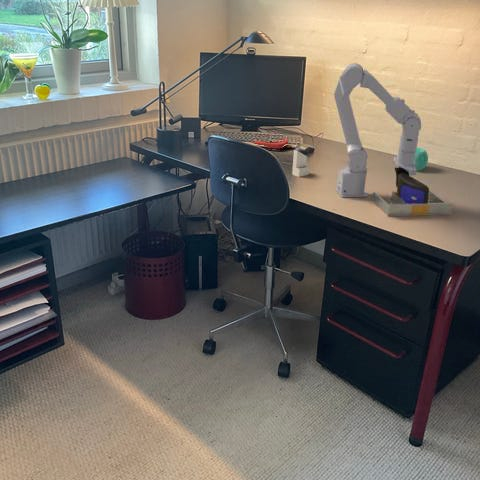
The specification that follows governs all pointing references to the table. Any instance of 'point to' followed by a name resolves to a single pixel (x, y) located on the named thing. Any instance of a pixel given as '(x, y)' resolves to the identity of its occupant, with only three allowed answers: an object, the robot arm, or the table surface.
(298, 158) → the white wedge bracket
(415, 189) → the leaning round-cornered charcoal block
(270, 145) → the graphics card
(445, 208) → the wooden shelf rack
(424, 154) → the decorative dice
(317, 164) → the table surface
